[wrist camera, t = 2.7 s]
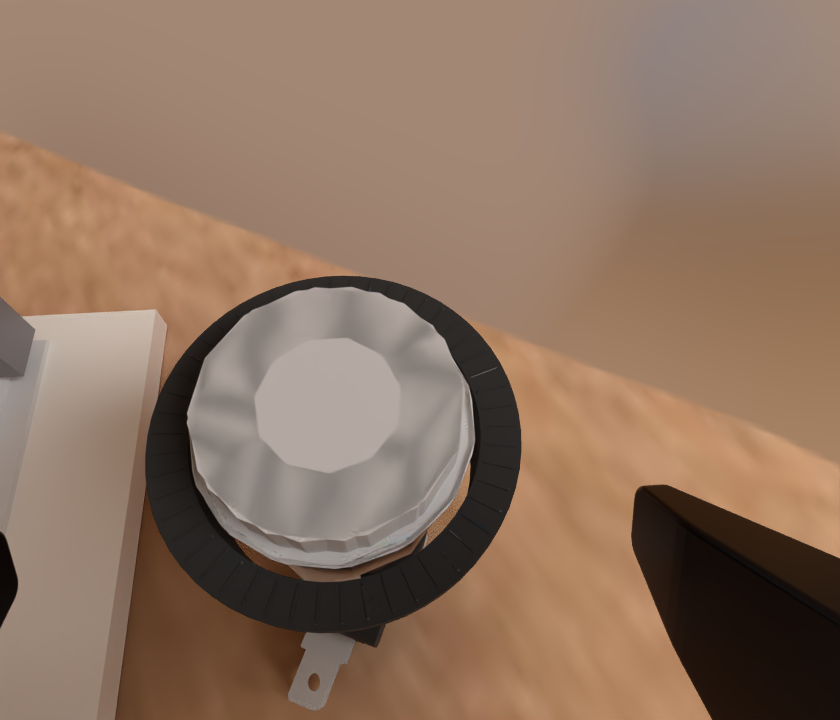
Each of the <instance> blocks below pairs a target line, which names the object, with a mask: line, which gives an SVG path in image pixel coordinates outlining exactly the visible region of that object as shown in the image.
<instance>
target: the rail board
mask: <svg viewBox="0 0 840 720" xmlns="http://www.w3.org/2000/svg"><path fill="white" fill-rule="evenodd" d="M166 331H167V325H166V323H165V322H164V321H163V319H162V318H161V316H160V315H159V313H158V312H157V310H138V311H118V312H99V313H79V314H59V315H40V316H20V315H19V314H18V313H17V312H16V311H15V310H14V309H13V308H12V307H10V306H9V305H8V304H7V303H6V302H5V301H4V300H3V299H2V298H1V297H0V531H1V532H2V533H3V534H4V535H5V537H6V539H7V542H8V545H9V549H10V552H11V556H12V559H13V563H14V566H15V569H16V573H17V576H18V591H17V594H16V597H15V600H14V602H13V604H12V606H11V608H10V610H9V612H8V614H7V616H6V618H5V620H4V622H3V624H2V626H1V628H0V720H115V714H116V707H117V699H118V692H119V684H120V677H121V669H122V662H123V654H124V647H125V639H126V632H127V624H128V616H129V609H130V601H131V594H132V586H133V579H134V571H135V564H136V556H137V549H138V541H139V534H140V526H141V519H142V511H143V504H144V496H145V489H146V477H145V452H146V443H147V435H148V430H149V426H150V421H151V417H152V414H153V411H154V408H155V405H156V402H157V399H158V391H159V384H160V376H161V369H162V361H163V354H164V346H165V339H166Z"/></svg>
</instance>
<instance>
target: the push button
mask: <svg viewBox="0 0 840 720" xmlns="http://www.w3.org/2000/svg"><path fill="white" fill-rule="evenodd" d="M520 459H521V428H520V420H519V413H518V409H517V405H516V401H515V397H514V394H513V391H512V388H511V385H510V383H509V380H508V378H507V376H506V374H505V372H504V370H503V368H502V366H501V364H500V362H499V360H498V359H497V357H496V356H495V354H494V352H493V351H492V349H491V348H490V347H489V345H488V344H487V343H486V342H485V340H484V339H483V338H482V337H481V335H480V334H479V333H478V332H477V331H476V330H475V329H474V328H473V327H472V326H471V325H470V324H469V323H468V322H467V321H465V320H464V319H463V318H462V317H461V316H459V315H458V314H457V313H456V312H454V311H453V310H452V309H450V308H449V307H447V306H446V305H444V304H442V303H441V302H439V301H437V300H436V299H434V298H432V297H430V296H428V295H426V294H424V293H422V292H419V291H417V290H415V289H412V288H410V287H407V286H403V285H401V284H398V283H394V282H390V281H386V280H381V279H376V278H368V277H361V276H328V277H319V278H312V279H306V280H301V281H297V282H292V283H289V284H286V285H283V286H279V287H276V288H273V289H271V290H268V291H266V292H264V293H261V294H259V295H257V296H255V297H253V298H251V299H249V300H247V301H245V302H243V303H241V304H240V305H238V306H237V307H235V308H234V309H232V310H230V311H229V312H227V313H226V314H225V315H223V316H222V317H221V318H219V319H218V320H217V321H216V322H214V323H213V324H212V325H211V326H210V327H208V328H207V329H206V330H205V331H204V332H203V333H202V334H201V335H200V336H199V337H198V338H197V339H196V340H195V341H194V342H193V344H192V345H191V346H190V347H189V348H188V349H187V350H186V351H185V353H184V354H183V356H182V357H181V358H180V360H179V361H178V362H177V364H176V365H175V367H174V368H173V370H172V372H171V373H170V375H169V377H168V379H167V380H166V382H165V384H164V386H163V388H162V391H161V393H160V395H159V397H158V399H157V402H156V405H155V408H154V411H153V414H152V417H151V421H150V426H149V430H148V435H147V443H146V452H145V477H146V485H147V493H148V497H149V502H150V506H151V510H152V514H153V516H154V519H155V521H156V524H157V527H158V529H159V532H160V534H161V536H162V538H163V539H164V541H165V543H166V545H167V547H168V549H169V550H170V552H171V553H172V555H173V556H174V558H175V559H176V560H177V562H178V563H179V565H180V566H181V567H182V568H183V570H184V571H185V572H186V573H187V574H188V575H189V576H190V577H191V578H192V579H193V580H194V582H195V583H197V584H198V585H199V586H200V587H201V588H202V589H204V590H205V591H206V592H207V593H208V594H210V595H211V596H212V597H214V598H215V599H217V600H218V601H220V602H221V603H223V604H224V605H226V606H227V607H229V608H231V609H233V610H235V611H237V612H239V613H241V614H243V615H245V616H247V617H249V618H252V619H255V620H258V621H260V622H263V623H266V624H269V625H272V626H275V627H279V628H284V629H288V630H293V631H298V632H306V634H305V636H304V639H303V641H302V644H301V646H300V647H302V648H304V649H306V651H305V653H304V656H303V658H302V661H301V663H300V666H299V668H298V671H297V673H296V675H295V678H294V680H293V683H292V685H291V688H290V690H289V693H288V699H289V701H291V702H293V703H296V704H298V705H300V706H303V707H305V708H307V709H310V710H312V711H316V710H318V709H321V708H323V707H324V706H325V704H326V701H327V698H328V696H329V693H330V690H331V688H332V685H333V682H334V680H335V677H336V674H337V672H338V669H339V667H340V664H346V665H347V663H348V660H349V657H350V654H351V652H352V649H353V646H354V644H355V641H358V642H361V643H363V644H364V643H365V644H368V645H370V646H373V647H375V648H376V647H377V646H378V644H379V641H380V638H381V636H382V633H383V630H384V627H385V624H387V623H390V622H392V621H395V620H398V619H400V618H403V617H405V616H407V615H409V614H411V613H413V612H415V611H417V610H419V609H421V608H423V607H425V606H426V605H428V604H429V603H431V602H432V601H434V600H435V599H437V598H438V597H440V596H441V595H443V594H444V593H445V592H447V591H448V590H449V589H450V588H451V587H453V586H454V585H455V584H456V583H457V582H458V581H460V580H461V579H462V578H463V576H464V575H465V574H466V573H467V572H468V571H469V570H470V569H471V568H472V567H473V566H474V565H475V564H476V562H477V561H478V560H479V558H480V557H481V556H482V554H483V553H484V552H485V551H486V549H487V548H488V546H489V545H490V543H491V542H492V540H493V538H494V537H495V535H496V533H497V532H498V530H499V528H500V527H501V525H502V522H503V520H504V518H505V516H506V514H507V511H508V509H509V507H510V504H511V501H512V498H513V495H514V492H515V489H516V484H517V479H518V474H519V470H520ZM469 462H470V464H471V469H470V483H469V488H468V494H467V496H466V498H465V501H464V502H463V504H462V505H461V507H460V509H459V510H458V512H457V513H456V515H455V517H454V518H453V519H452V520H451V522H450V523H449V524H448V525H447V527H446V528H445V529H444V530H443V531H442V532H441V533H440V534H439V535H438V536H437V537H436V538H435V539H434V540H433V541H432V542H431V543H430V544H429V545H427V546H426V542H427V536H428V535H427V530H428V529H429V527H430V526H431V524H432V523H433V522H434V521H435V520H436V519H437V518H438V517H439V516H440V515H441V514H442V513H443V512H444V511H445V510H446V509H447V508H448V507H449V505H450V504H451V503H452V501H453V500H454V498H455V497H456V495H457V493H458V490H459V488H460V485H461V482H462V480H463V477H464V475H465V472H466V470H467V467H468V464H469ZM233 537H234V538H236V539H238V540H239V541H241V542H243V543H244V544H246V545H248V546H249V547H251V548H253V549H254V550H256V551H258V552H259V553H261V554H263V555H264V556H266V557H268V558H269V559H271V560H274V561H277V562H280V563H283V564H287V565H288V566H289V567H290V568H291V569H293V570H294V571H295V572H296V573H297V574H298V575H299V576H300V577H301V578H302V580H298V579H294V578H290V577H286V576H282V575H279V574H276V573H274V572H271V571H269V570H266V569H264V568H262V567H260V566H258V565H256V564H254V563H253V562H252V561H251V560H250V559H249V558H248V557H247V556H246V554H245V553H244V552H243V551H242V549H241V548H240V547H239V546H238V544H237V543H236V541H235V539H234V538H233ZM425 546H426V547H425ZM313 673H316V674H317V675H318V676H319V678H320V685H319V687H318V689H317V690H316V691H313V690H311V689H310V688H309V685H308V680H309V677H310V676H311V675H312V674H313Z"/></svg>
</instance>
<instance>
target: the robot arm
mask: <svg viewBox="0 0 840 720" xmlns="http://www.w3.org/2000/svg"><path fill="white" fill-rule="evenodd" d="M631 539H632V546H633V550H634V553H635V556H636V558H637V560H638V563H639V565H640V568H641V570H642V573H643V575H644V578H645V580H646V583H647V585H648V588H649V590H650V592H651V595H652V597H653V600H654V602H655V605H656V607H657V610H658V612H659V615H660V617H661V619H662V622H663V624H664V627H665V629H666V632H667V634H668V636H669V638H670V641H671V643H672V645H673V647H674V649H675V651H676V653H677V655H678V657H679V659H680V661H681V663H682V665H683V666H684V668H685V670H686V672H687V674H688V676H689V678H690V679H691V681H692V683H693V685H694V687H695V689H696V691H697V692H698V694H699V696H700V698H701V700H702V702H703V704H704V705H705V707H706V709H707V711H708V713H709V715H710V717H711V718H712V720H840V558H838V557H835V556H833V555H831V554H828V553H826V552H824V551H821V550H819V549H817V548H814V547H812V546H809V545H807V544H805V543H802V542H800V541H798V540H795V539H793V538H791V537H788V536H786V535H784V534H781V533H779V532H777V531H774V530H772V529H770V528H767V527H765V526H762V525H760V524H758V523H755V522H753V521H751V520H748V519H746V518H744V517H741V516H739V515H737V514H734V513H732V512H730V511H727V510H725V509H723V508H720V507H718V506H715V505H713V504H711V503H708V502H706V501H704V500H701V499H699V498H697V497H694V496H692V495H690V494H687V493H685V492H683V491H680V490H678V489H676V488H673V487H671V486H668V485H647V486H641V487H639V488H638V489H637V491H636V493H635V498H634V509H633V521H632V533H631ZM17 591H18V576H17V573H16V569H15V566H14V563H13V559H12V556H11V552H10V549H9V545H8V542H7V539H6V537H5V535H4V534H3V533H2V532H1V531H0V628H1V626H2V624H3V622H4V620H5V618H6V616H7V614H8V612H9V610H10V608H11V606H12V604H13V602H14V600H15V597H16V594H17Z"/></svg>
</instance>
